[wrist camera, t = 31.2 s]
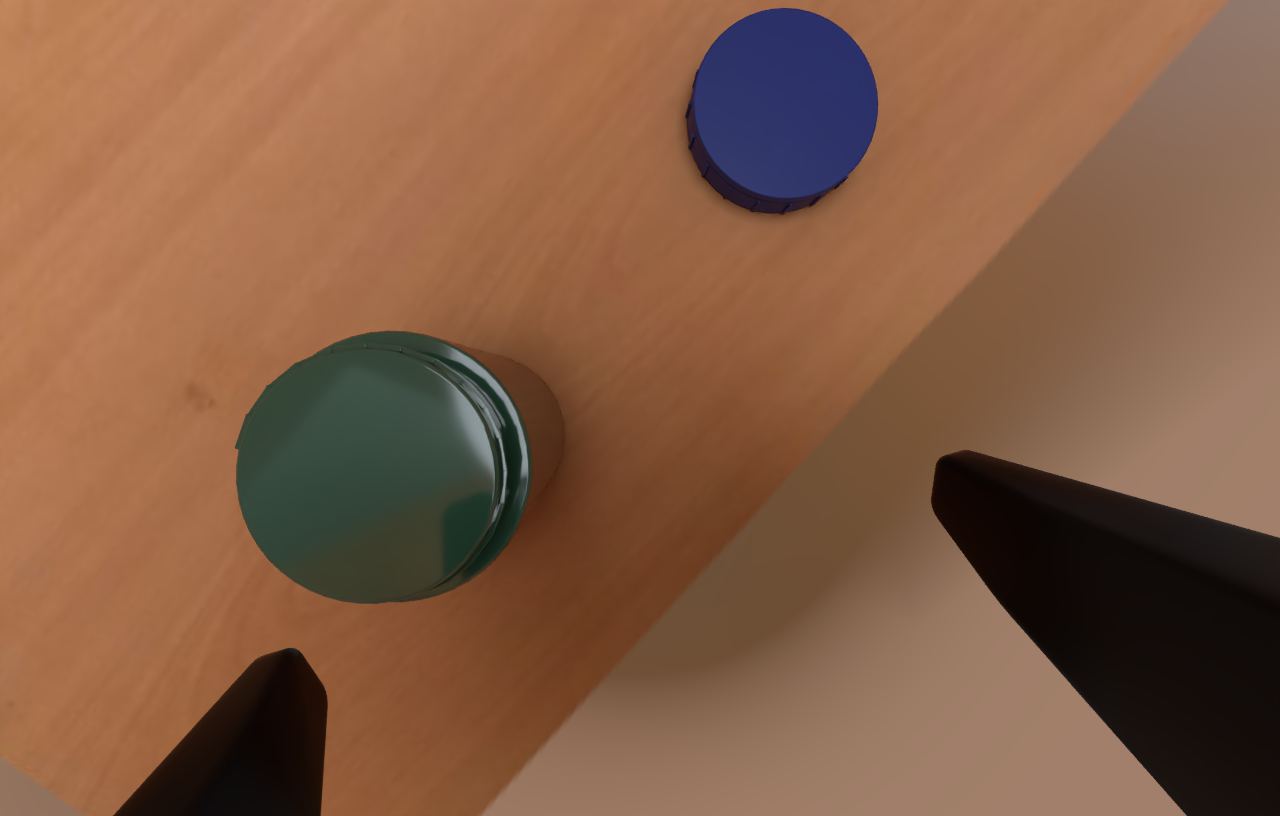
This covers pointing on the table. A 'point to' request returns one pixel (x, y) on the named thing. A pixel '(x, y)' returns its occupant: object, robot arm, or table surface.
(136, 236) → the table surface
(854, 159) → the lid
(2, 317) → the table surface
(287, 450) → the jar
